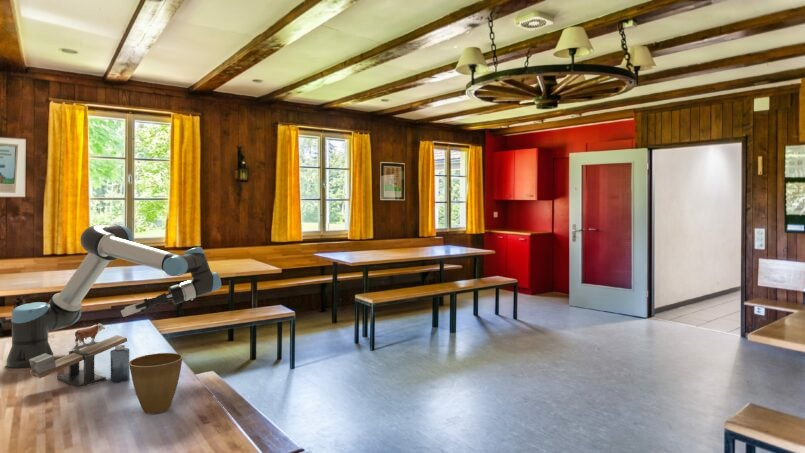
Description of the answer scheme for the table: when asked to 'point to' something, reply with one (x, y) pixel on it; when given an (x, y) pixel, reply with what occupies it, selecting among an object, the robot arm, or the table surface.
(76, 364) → the stand
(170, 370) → the plant pot
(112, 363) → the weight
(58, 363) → the beam
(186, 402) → the table surface
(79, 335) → the bull figurine
